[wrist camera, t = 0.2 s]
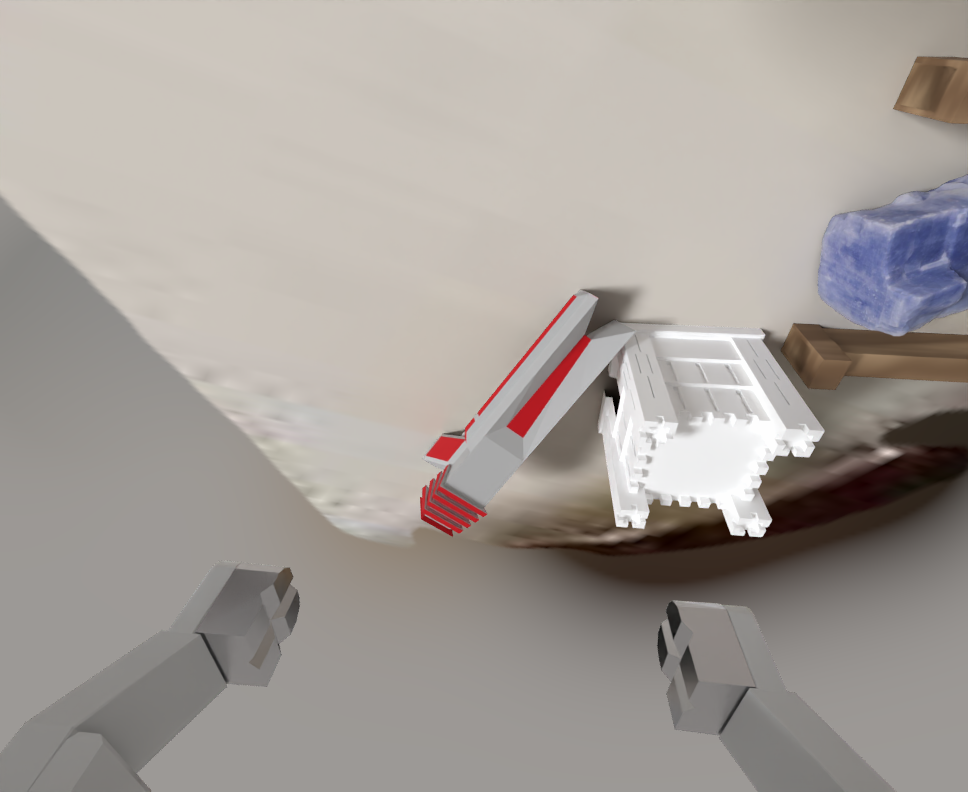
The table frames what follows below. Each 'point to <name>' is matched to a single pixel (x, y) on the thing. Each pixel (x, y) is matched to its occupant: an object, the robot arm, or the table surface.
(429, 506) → the toy gun
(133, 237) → the table surface
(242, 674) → the robot arm
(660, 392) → the castle model
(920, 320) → the mineral
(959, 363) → the wooden brackets
